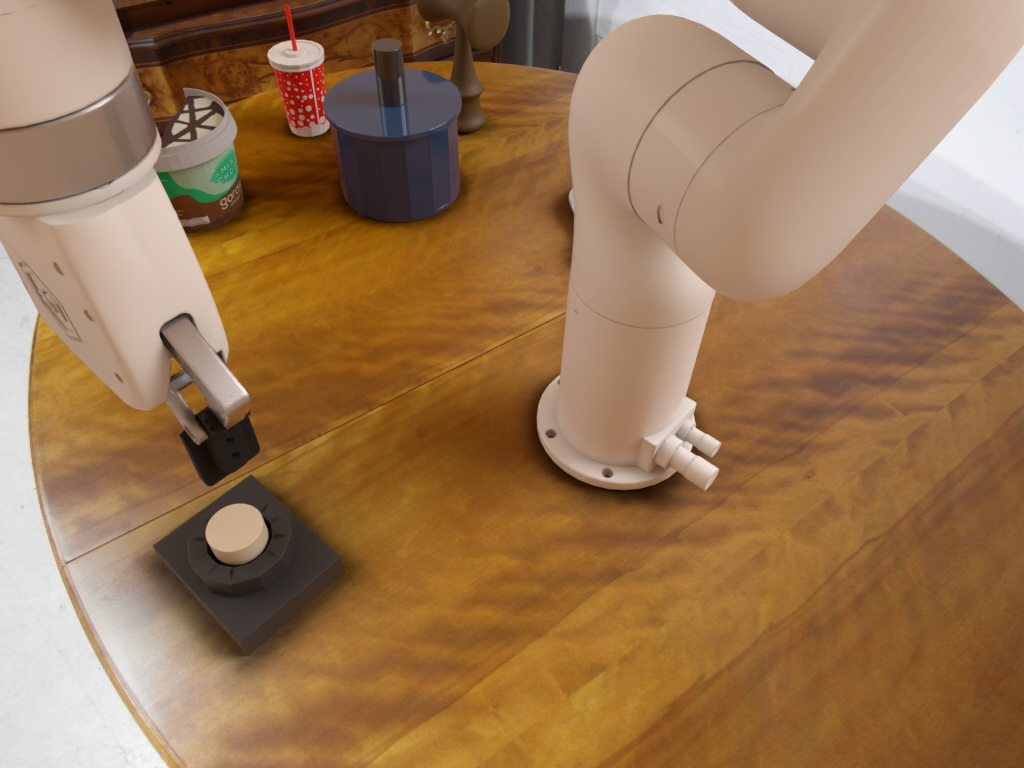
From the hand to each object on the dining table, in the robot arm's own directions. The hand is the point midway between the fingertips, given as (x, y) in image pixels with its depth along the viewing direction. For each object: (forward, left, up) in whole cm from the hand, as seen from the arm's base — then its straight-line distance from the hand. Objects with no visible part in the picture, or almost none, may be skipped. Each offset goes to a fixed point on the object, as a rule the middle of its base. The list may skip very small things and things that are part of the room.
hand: (182, 418), depth 42 cm
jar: (+26, -38, -16) cm, 49 cm away
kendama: (+30, -52, -16) cm, 62 cm away
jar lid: (+26, -38, -7) cm, 46 cm away
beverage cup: (+43, -39, -16) cm, 60 cm away
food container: (+37, -23, -16) cm, 46 cm away
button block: (0, 0, -16) cm, 16 cm away
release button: (0, 0, -13) cm, 13 cm away
